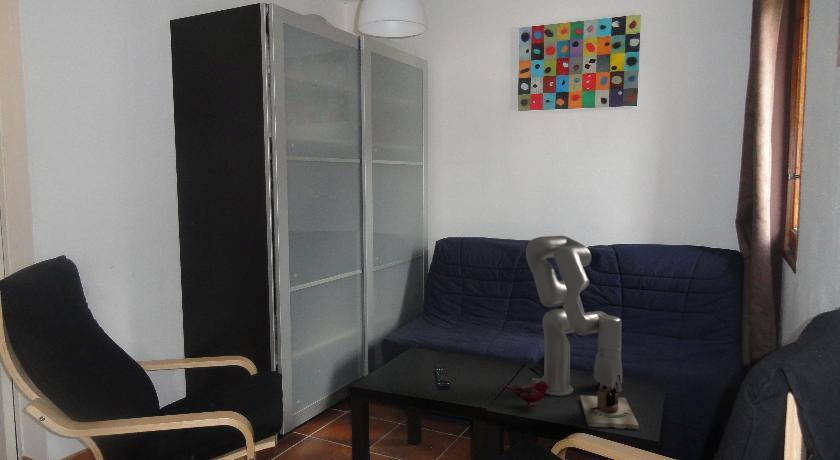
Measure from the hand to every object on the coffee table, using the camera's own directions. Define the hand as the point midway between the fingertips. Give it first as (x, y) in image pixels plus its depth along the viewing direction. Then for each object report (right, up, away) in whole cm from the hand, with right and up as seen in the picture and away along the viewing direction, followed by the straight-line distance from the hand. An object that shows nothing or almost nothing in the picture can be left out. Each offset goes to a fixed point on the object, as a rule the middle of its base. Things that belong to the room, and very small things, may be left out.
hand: (607, 403), depth 207 cm
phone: (-13, 0, +43) cm, 44 cm away
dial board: (0, -4, 0) cm, 4 cm away
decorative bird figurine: (-27, -3, +8) cm, 29 cm away
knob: (-2, -2, 0) cm, 3 cm away
